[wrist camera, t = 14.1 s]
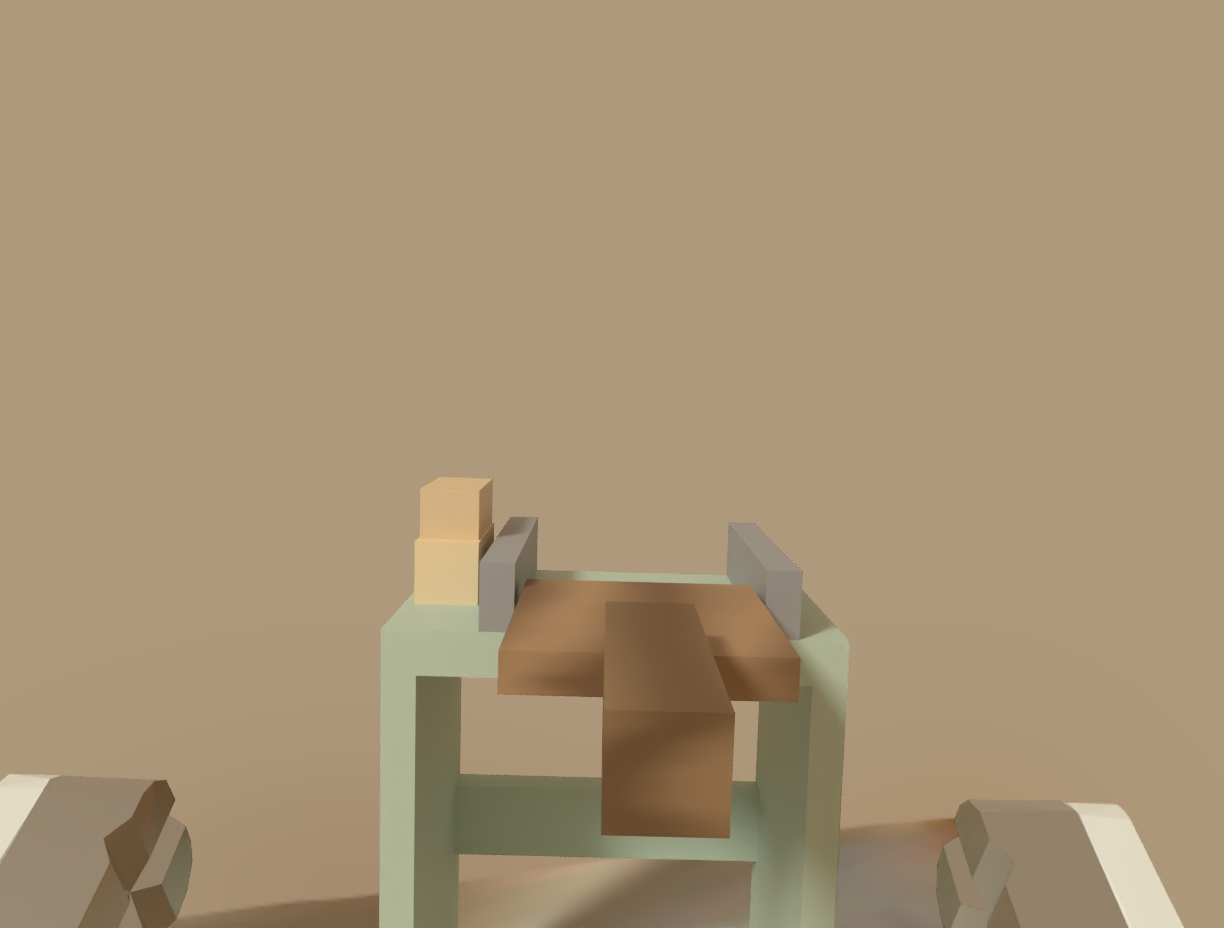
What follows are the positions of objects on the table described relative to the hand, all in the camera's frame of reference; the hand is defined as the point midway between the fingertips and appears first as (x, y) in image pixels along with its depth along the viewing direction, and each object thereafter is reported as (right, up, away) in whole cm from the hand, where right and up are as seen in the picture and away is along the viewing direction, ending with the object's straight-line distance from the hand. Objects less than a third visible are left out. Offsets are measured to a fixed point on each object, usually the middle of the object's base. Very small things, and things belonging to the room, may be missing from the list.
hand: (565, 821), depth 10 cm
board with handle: (+2, -4, +22) cm, 23 cm away
